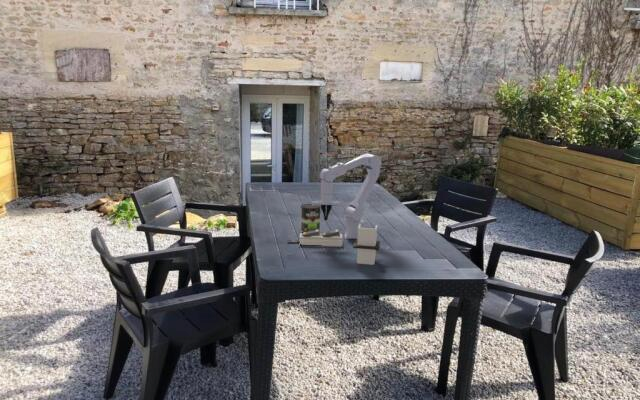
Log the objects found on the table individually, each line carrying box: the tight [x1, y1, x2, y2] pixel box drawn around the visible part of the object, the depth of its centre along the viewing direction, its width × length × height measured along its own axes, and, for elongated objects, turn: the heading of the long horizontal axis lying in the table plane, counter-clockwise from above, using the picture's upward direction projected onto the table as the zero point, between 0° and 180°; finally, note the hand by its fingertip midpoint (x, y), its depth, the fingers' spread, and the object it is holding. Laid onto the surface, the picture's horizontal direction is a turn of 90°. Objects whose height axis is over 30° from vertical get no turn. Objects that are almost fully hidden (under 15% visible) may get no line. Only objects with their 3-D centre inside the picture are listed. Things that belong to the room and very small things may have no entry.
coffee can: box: [300, 203, 321, 232], centre depth 249 cm, size 10×10×14 cm
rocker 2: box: [322, 229, 340, 237], centre depth 230 cm, size 8×4×2 cm, turn 90°
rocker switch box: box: [287, 232, 343, 248], centre depth 231 cm, size 27×9×4 cm, turn 90°
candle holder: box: [352, 224, 381, 266], centre depth 205 cm, size 25×24×16 cm
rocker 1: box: [303, 229, 321, 237], centre depth 230 cm, size 8×4×2 cm, turn 90°
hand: (325, 219), depth 235 cm, fingers closed
